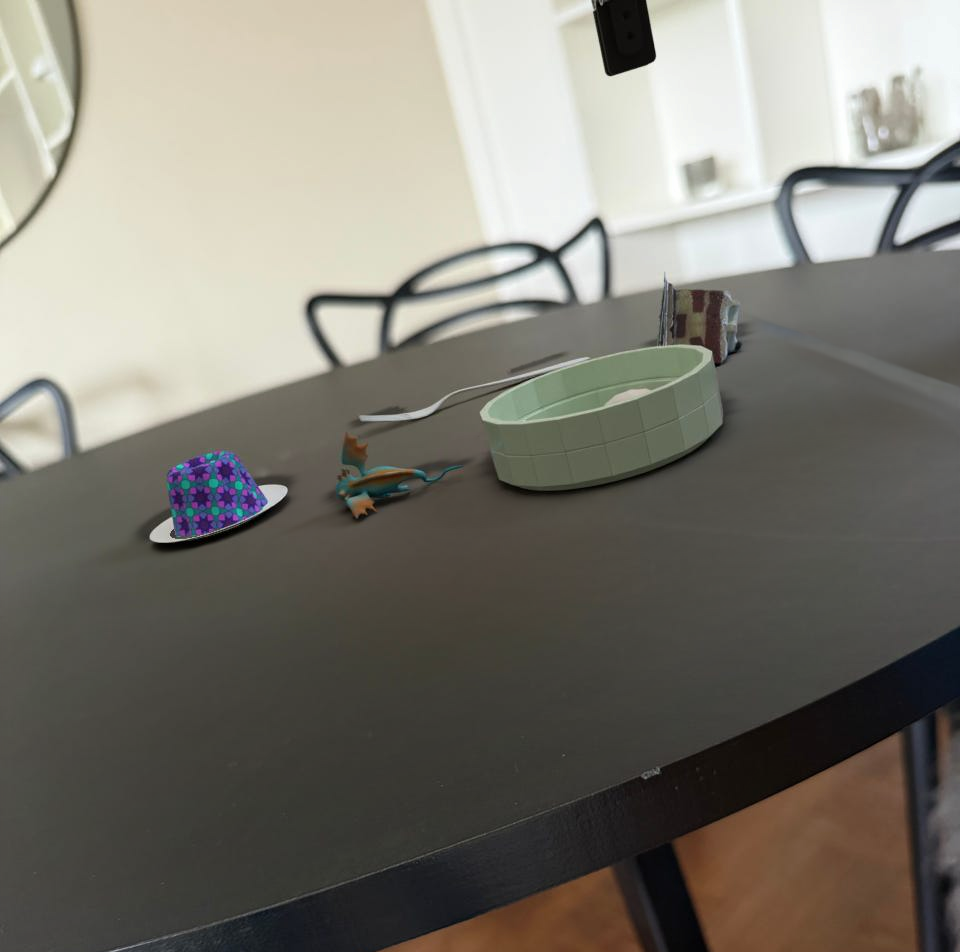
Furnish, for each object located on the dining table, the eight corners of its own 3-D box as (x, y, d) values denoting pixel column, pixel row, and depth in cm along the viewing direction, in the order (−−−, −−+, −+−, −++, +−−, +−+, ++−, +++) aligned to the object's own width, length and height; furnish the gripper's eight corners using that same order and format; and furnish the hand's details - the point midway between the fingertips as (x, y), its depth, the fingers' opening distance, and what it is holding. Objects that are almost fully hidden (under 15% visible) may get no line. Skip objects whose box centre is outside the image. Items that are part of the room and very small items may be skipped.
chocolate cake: (747, 369, 84) (751, 245, 87) (659, 366, 85) (667, 243, 88) (729, 426, 93) (734, 312, 96) (651, 422, 94) (658, 309, 97)
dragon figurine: (415, 456, 83) (322, 452, 79) (457, 423, 76) (358, 417, 72) (426, 535, 82) (331, 535, 78) (469, 508, 75) (369, 507, 71)
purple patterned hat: (318, 488, 86) (297, 429, 84) (218, 549, 78) (191, 485, 76) (226, 496, 94) (204, 442, 92) (124, 552, 85) (98, 494, 83)
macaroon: (604, 437, 74) (596, 403, 73) (614, 417, 78) (606, 385, 77) (663, 425, 72) (655, 391, 71) (670, 406, 77) (663, 373, 76)
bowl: (689, 397, 80) (676, 333, 78) (756, 443, 65) (743, 366, 63) (489, 456, 81) (472, 394, 78) (511, 516, 66) (490, 441, 64)
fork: (595, 360, 103) (591, 342, 102) (366, 437, 100) (361, 420, 99) (584, 357, 105) (580, 340, 105) (362, 432, 103) (356, 415, 102)
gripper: (656, -349, 54) (718, 37, 62) (603, -240, 68) (659, 65, 75) (520, -304, 55) (597, 74, 62) (494, -205, 68) (560, 96, 76)
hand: (631, 68), depth 69 cm, fingers closed
